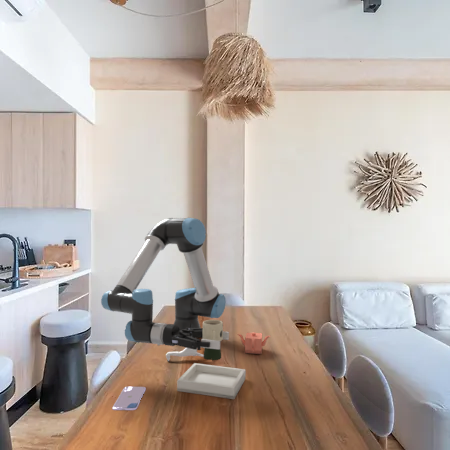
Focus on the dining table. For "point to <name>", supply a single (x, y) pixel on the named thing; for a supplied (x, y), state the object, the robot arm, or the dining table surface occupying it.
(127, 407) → the mobile phone
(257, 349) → the teapot
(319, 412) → the dining table surface
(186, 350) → the white flat pronged piece
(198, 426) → the dining table surface
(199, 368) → the tray
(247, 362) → the dining table surface
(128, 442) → the dining table surface
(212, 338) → the character mug
